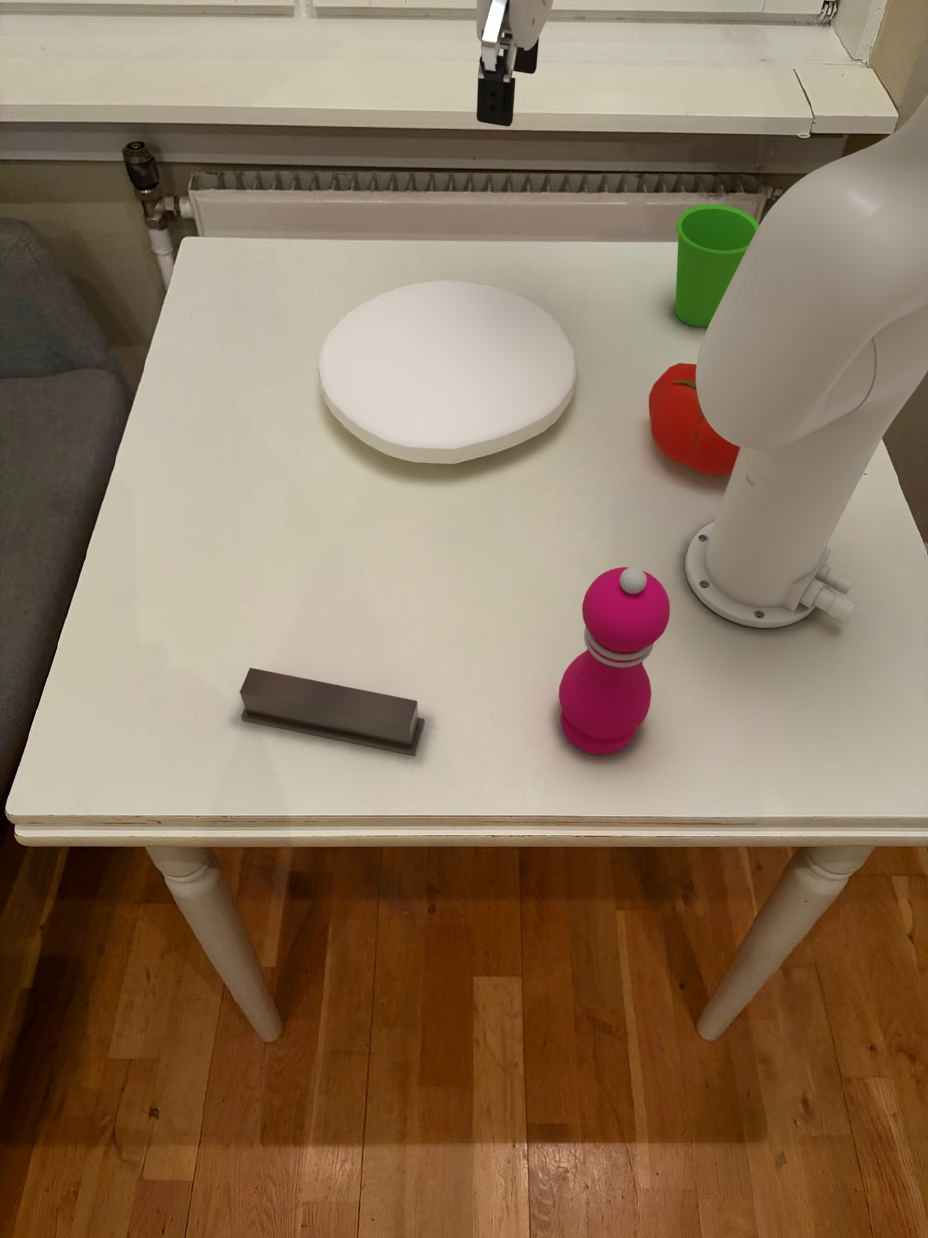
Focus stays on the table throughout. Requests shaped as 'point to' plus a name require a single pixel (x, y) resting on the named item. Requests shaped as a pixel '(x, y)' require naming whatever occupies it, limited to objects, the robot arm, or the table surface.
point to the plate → (446, 371)
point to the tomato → (687, 424)
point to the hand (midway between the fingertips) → (507, 95)
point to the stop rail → (331, 711)
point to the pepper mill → (613, 660)
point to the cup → (708, 258)
